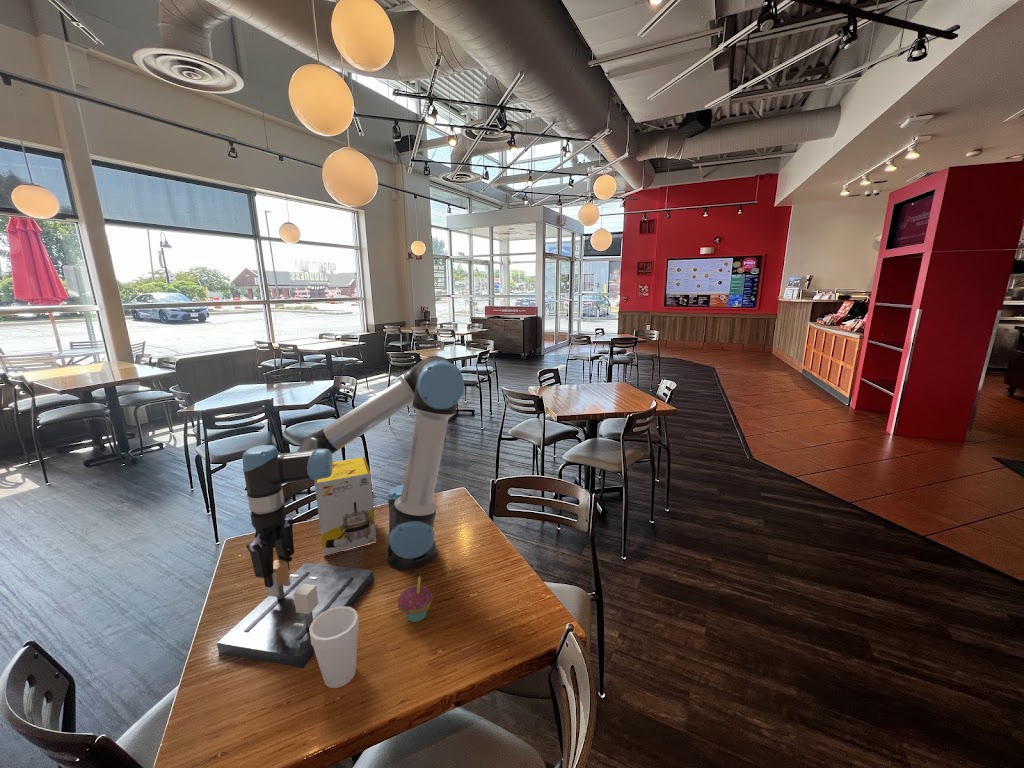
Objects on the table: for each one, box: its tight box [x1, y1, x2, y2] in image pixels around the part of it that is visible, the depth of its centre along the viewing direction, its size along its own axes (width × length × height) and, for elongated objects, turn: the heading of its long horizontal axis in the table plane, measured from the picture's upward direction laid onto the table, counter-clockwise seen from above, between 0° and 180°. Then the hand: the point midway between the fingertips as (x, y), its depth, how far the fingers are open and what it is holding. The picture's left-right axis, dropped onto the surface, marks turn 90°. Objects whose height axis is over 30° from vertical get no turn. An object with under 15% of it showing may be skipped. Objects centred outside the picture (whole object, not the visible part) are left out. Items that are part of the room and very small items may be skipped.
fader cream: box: [294, 584, 318, 627], centre depth 98 cm, size 3×3×10 cm
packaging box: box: [314, 456, 377, 555], centre depth 139 cm, size 16×16×25 cm
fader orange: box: [273, 559, 289, 599], centre depth 107 cm, size 3×3×10 cm
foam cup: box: [309, 606, 360, 689], centre depth 88 cm, size 10×9×13 cm
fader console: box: [216, 562, 375, 669], centre depth 107 cm, size 22×30×3 cm
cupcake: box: [397, 575, 433, 623], centre depth 104 cm, size 9×8×12 cm
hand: (279, 589), depth 108 cm, fingers closed on fader orange, 3 cm apart
